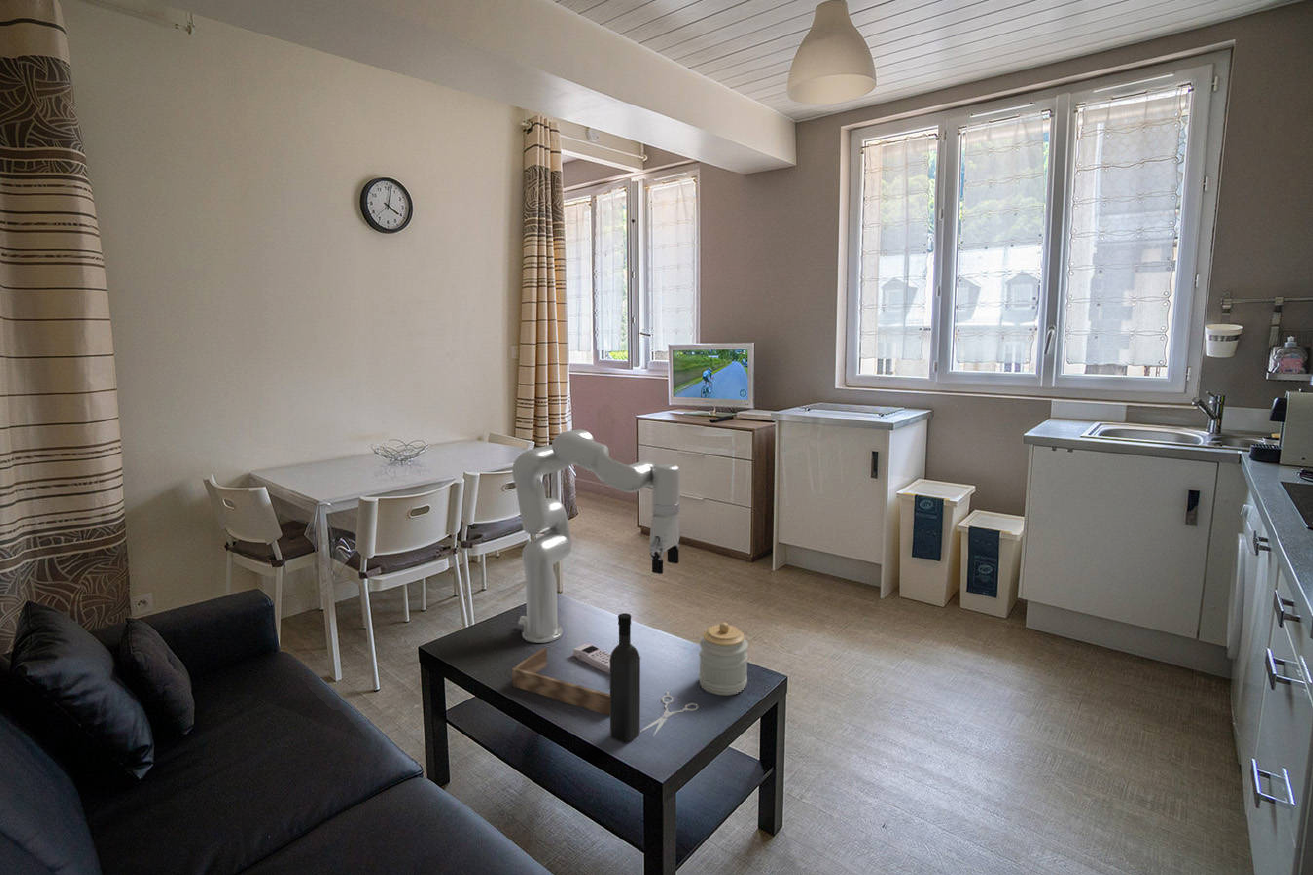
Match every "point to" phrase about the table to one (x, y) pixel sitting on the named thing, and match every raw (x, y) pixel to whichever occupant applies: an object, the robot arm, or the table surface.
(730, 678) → the jar
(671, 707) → the table surface
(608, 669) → the mobile phone
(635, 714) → the wine bottle
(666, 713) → the scissors
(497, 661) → the table surface
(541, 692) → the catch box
